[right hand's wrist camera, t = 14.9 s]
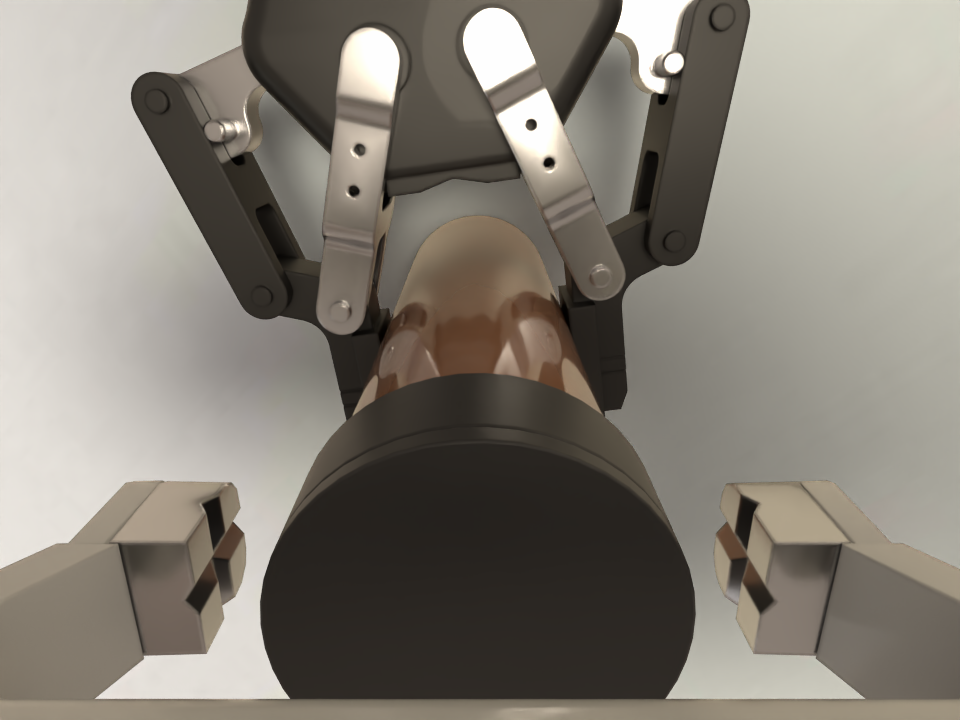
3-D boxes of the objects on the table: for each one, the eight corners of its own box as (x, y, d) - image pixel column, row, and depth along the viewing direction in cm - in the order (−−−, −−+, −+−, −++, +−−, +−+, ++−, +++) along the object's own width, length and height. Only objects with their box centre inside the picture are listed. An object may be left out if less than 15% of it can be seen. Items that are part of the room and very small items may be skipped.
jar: (429, 358, 25) (353, 760, 10) (395, 232, 23) (240, 483, 8) (556, 331, 25) (682, 706, 9) (531, 201, 23) (635, 404, 8)
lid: (582, 700, 11) (602, 818, 9) (269, 627, 11) (225, 737, 9) (714, 430, 9) (772, 510, 8) (344, 323, 9) (308, 382, 7)
